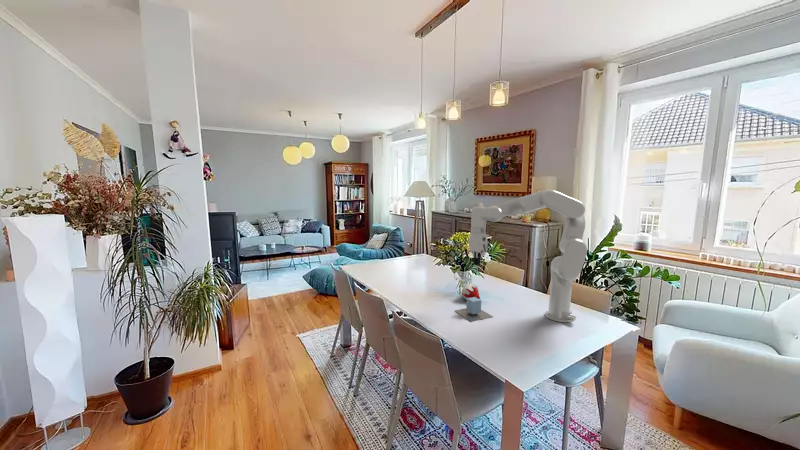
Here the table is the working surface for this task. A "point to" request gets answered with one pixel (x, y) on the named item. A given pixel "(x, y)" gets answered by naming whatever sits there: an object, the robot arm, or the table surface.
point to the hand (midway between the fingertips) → (476, 264)
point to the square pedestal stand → (473, 315)
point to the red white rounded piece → (470, 291)
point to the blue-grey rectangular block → (473, 305)
